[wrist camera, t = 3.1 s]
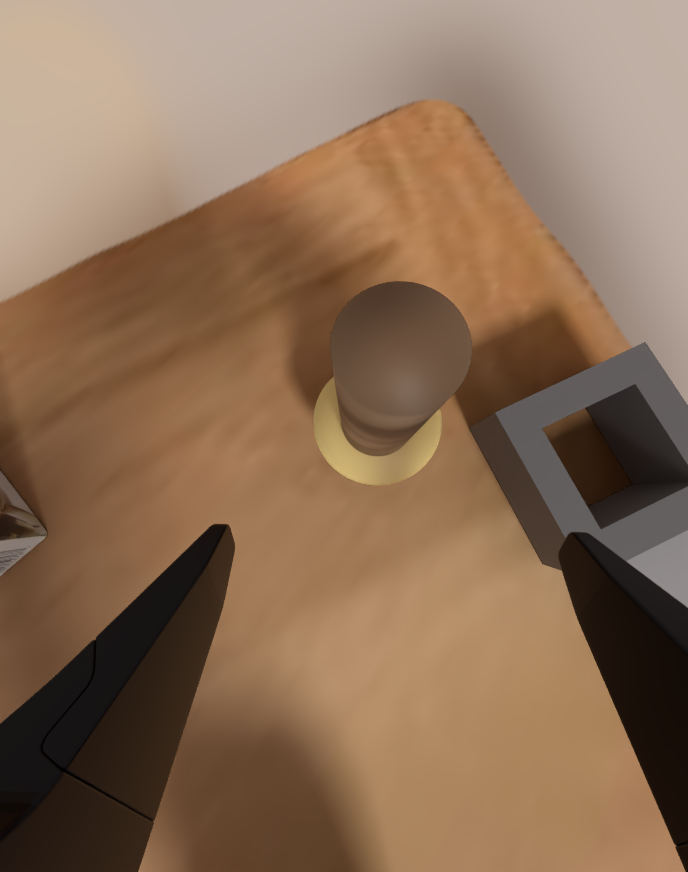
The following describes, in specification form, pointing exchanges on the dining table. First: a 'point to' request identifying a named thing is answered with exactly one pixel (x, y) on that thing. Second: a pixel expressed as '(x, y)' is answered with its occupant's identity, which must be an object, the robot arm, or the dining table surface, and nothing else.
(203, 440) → the dining table surface
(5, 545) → the coffee box
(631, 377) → the hitch block
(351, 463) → the walnut pin
